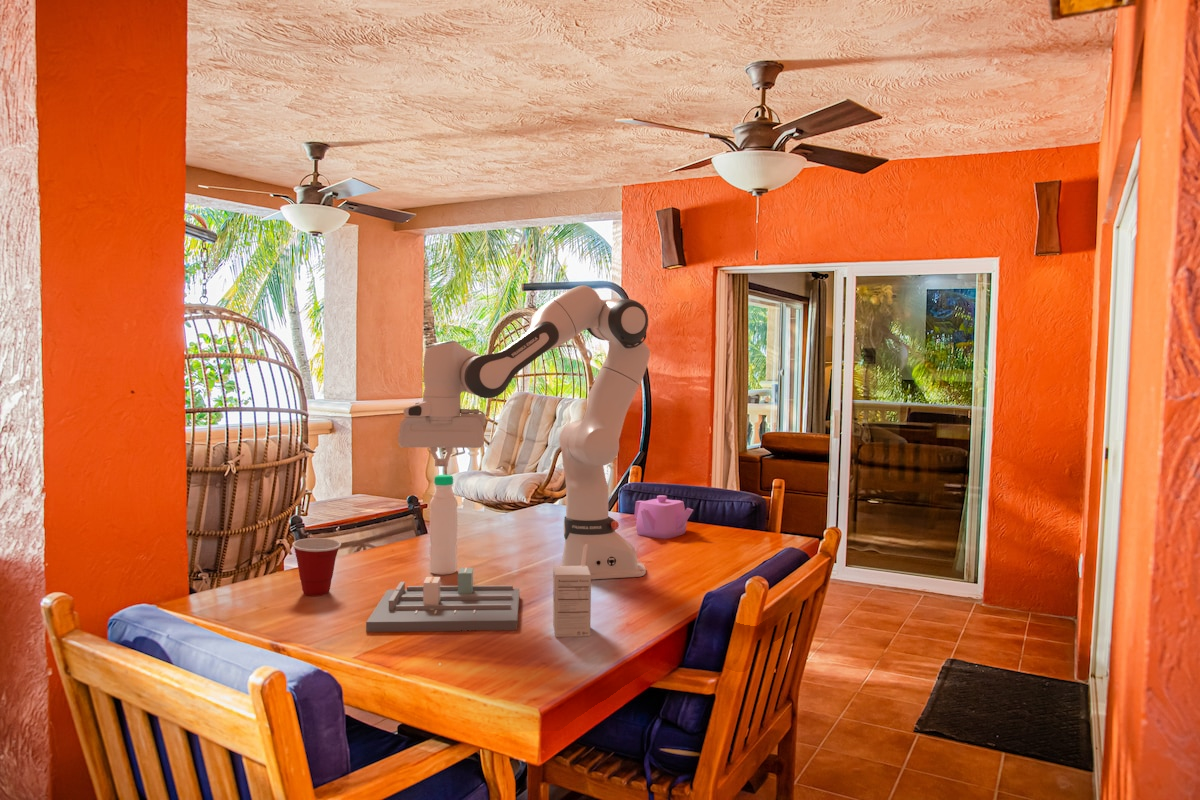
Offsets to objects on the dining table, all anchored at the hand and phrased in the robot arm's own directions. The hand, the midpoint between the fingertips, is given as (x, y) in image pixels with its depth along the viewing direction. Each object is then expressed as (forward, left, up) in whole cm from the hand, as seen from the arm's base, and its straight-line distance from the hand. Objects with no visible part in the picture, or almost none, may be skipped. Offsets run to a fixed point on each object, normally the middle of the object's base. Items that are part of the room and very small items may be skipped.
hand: (441, 466), depth 201 cm
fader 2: (-7, +14, -27) cm, 31 cm away
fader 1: (-1, +22, -27) cm, 35 cm away
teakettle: (-63, -61, -29) cm, 93 cm away
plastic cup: (+28, +5, -29) cm, 41 cm away
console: (-4, +22, -29) cm, 37 cm away
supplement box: (-30, +35, -29) cm, 55 cm away
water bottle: (+1, -14, -29) cm, 33 cm away
